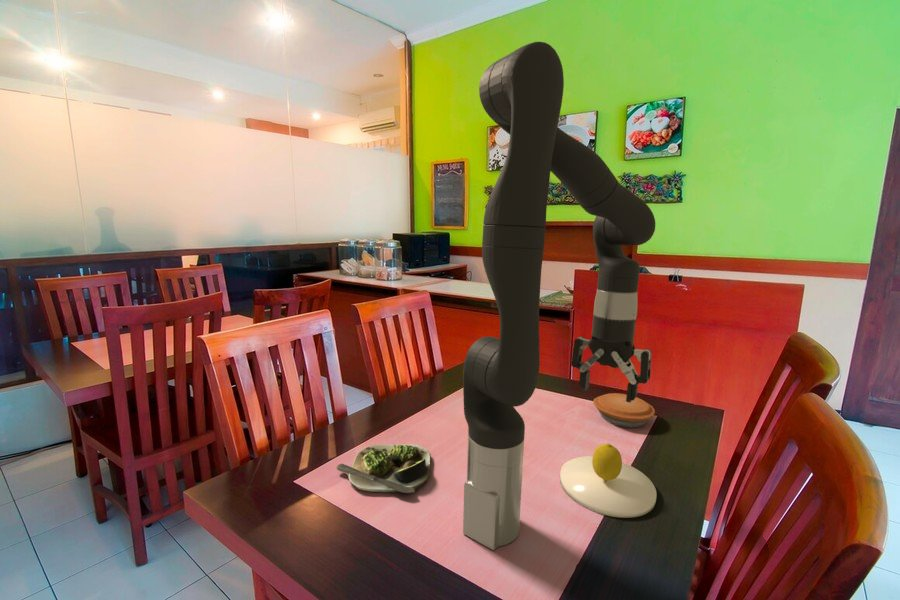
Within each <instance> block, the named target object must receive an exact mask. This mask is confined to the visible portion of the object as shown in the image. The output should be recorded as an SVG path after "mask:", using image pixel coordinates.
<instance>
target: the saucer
mask: <svg viewBox="0 0 900 600" xmlns="http://www.w3.org/2000/svg"><path fill="white" fill-rule="evenodd" d="M592 459H593V455H587V456H579V457H575V458H572V459H570V460H568V461H566V462H565V463H564V464H563V465H562V467H561V468H560V474H559V475H560V476H559V483H560V485H561V487H562V490H563V491H564V492H565V494H566V495H567V496H568V497H569V498H571V500H573V501H574V502H576V503H577V504H578V505H580V506H582V507H583V508H586V509H587V510H589V511H591V512H594V513H598V514H601V515H604V516H608V517H612V518H620V519H621V518H623V519H625V518H626V519H627V518H632V519H633V518H637V517H642V516H644V515H647V514H648V513H650V512H651V511H652V510H653V509H654V507H655V505H656V502H657V489H656V487H655V485H654V484H653V482H652V481H651V479H650V478H649V477H648V476H646V474H644V473H643V472H642V471H640V470H638V469H637V468H635V467H633V466H631V465H629V464H628V463H625V462H623V461H622V468H621V472H620V474H619V475H618V477H617V478H615V479H613V480H607V481H604V480H603V479H602V478H600V477H599V476H598V475H597V474H596V473H595V471H594V469H593V465H592Z"/></svg>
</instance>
